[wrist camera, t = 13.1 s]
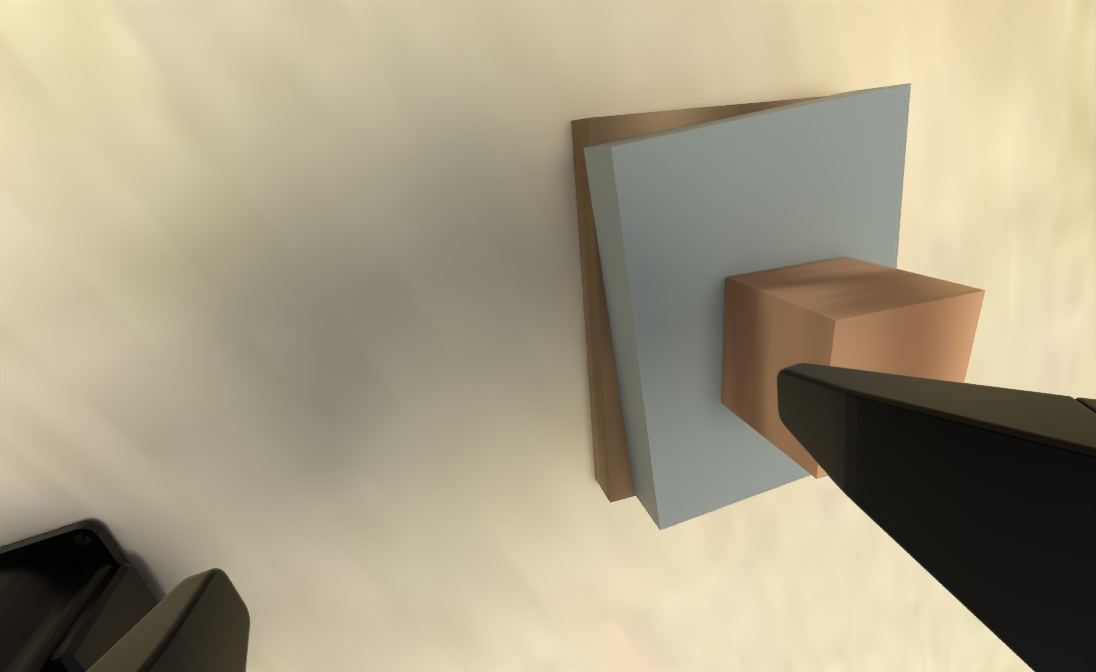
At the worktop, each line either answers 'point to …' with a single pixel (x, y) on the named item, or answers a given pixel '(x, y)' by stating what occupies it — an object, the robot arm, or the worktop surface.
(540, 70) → the worktop surface
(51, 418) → the worktop surface
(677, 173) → the slate grey slab
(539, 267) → the worktop surface
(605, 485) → the walnut slab
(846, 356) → the terracotta block
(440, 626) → the worktop surface
